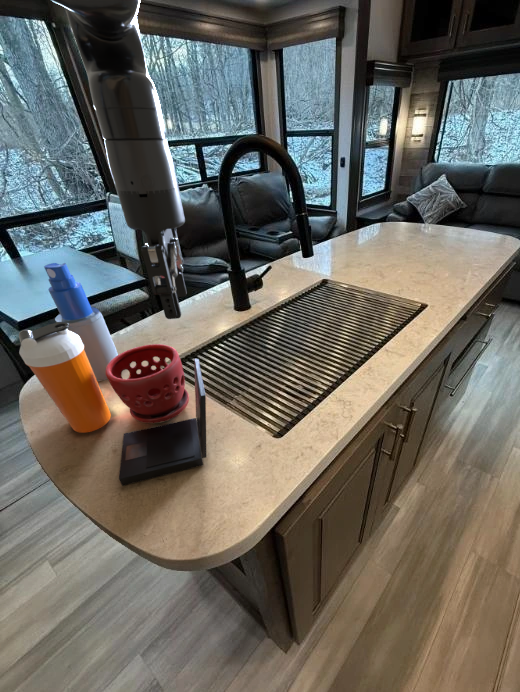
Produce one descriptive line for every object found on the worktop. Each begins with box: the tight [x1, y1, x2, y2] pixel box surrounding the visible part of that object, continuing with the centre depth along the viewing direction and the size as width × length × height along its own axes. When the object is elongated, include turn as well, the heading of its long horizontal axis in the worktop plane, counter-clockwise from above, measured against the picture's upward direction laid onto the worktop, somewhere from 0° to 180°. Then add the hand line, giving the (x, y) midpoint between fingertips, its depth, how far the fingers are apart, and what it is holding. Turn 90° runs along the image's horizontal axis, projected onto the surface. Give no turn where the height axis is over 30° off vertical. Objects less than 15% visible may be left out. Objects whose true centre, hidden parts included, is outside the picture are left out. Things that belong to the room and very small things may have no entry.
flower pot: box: [106, 343, 190, 424], centre depth 65 cm, size 13×13×12 cm
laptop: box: [118, 417, 204, 487], centre depth 59 cm, size 13×11×2 cm
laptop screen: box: [193, 358, 207, 459], centre depth 56 cm, size 13×11×1 cm
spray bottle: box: [43, 262, 119, 382], centre depth 73 cm, size 9×9×25 cm
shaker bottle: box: [18, 322, 112, 434], centre depth 60 cm, size 9×9×20 cm
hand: (177, 306), depth 52 cm, fingers open, 8 cm apart
